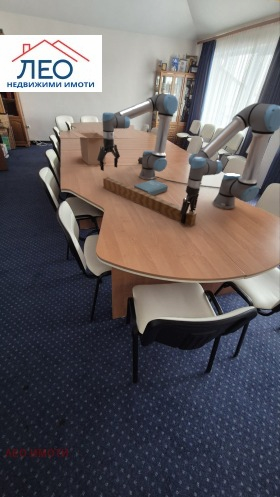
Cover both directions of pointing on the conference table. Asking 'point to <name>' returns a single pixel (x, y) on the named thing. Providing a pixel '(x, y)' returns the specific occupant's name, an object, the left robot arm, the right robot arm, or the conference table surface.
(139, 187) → the book
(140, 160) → the laser sight
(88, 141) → the box
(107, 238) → the conference table surface
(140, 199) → the bar
